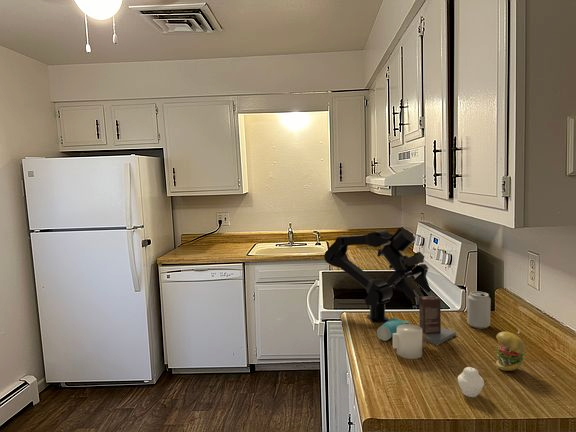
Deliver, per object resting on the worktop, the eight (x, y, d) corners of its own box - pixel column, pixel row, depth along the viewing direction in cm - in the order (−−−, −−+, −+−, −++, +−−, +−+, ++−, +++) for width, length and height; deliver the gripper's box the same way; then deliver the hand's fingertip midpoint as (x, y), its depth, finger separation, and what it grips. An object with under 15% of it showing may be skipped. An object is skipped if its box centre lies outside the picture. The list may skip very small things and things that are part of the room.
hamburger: (493, 361, 121) (494, 322, 120) (521, 365, 118) (522, 324, 117) (497, 373, 114) (498, 331, 113) (526, 377, 111) (528, 334, 110)
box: (435, 328, 144) (435, 295, 143) (441, 333, 140) (441, 298, 139) (418, 329, 144) (418, 295, 142) (423, 334, 139) (424, 299, 138)
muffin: (467, 402, 100) (468, 374, 100) (452, 389, 106) (452, 363, 105) (489, 398, 102) (490, 371, 101) (472, 386, 108) (473, 360, 107)
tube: (374, 323, 139) (391, 311, 155) (372, 336, 139) (389, 323, 156) (396, 330, 135) (411, 317, 151) (393, 344, 135) (408, 330, 152)
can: (493, 329, 145) (494, 296, 144) (472, 329, 146) (473, 296, 144) (484, 321, 153) (485, 290, 152) (463, 322, 153) (464, 290, 152)
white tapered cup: (415, 347, 132) (415, 323, 131) (426, 357, 125) (426, 332, 124) (388, 349, 131) (388, 325, 130) (398, 360, 123) (398, 334, 123)
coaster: (405, 334, 142) (405, 331, 142) (424, 325, 150) (424, 322, 150) (437, 345, 133) (437, 341, 133) (455, 335, 141) (455, 331, 141)
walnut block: (408, 344, 135) (408, 332, 134) (418, 342, 136) (418, 330, 136) (416, 349, 131) (416, 337, 130) (426, 347, 132) (426, 335, 132)
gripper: (393, 248, 139) (422, 287, 132) (423, 241, 151) (452, 276, 144) (374, 268, 146) (401, 305, 139) (405, 259, 158) (431, 293, 151)
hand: (422, 294), depth 143 cm, fingers open, 9 cm apart
